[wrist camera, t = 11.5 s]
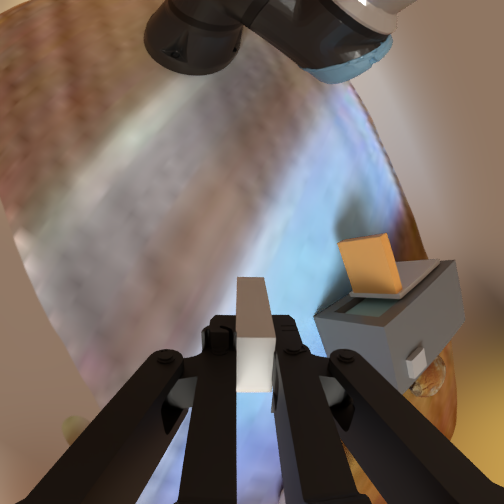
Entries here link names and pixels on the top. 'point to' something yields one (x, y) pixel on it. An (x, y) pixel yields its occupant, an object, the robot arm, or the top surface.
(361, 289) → the door
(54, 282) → the top surface
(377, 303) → the box
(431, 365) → the bread roll
